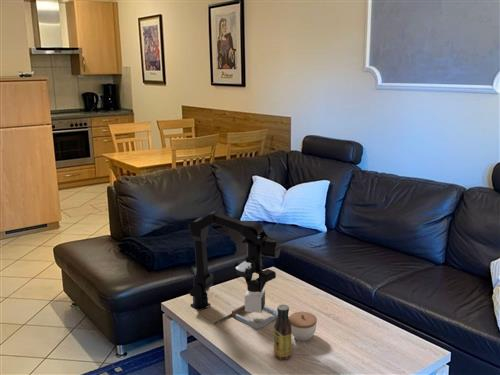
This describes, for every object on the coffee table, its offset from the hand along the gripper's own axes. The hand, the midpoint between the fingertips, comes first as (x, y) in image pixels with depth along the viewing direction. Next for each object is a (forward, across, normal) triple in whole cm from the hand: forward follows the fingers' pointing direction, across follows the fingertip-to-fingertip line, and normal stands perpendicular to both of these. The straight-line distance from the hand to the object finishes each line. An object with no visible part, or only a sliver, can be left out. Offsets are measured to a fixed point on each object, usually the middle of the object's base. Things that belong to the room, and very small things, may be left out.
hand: (254, 289), depth 200 cm
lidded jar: (+13, +23, +3) cm, 27 cm away
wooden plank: (+13, -8, +1) cm, 15 cm away
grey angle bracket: (+13, 0, +1) cm, 13 cm away
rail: (+13, -9, -3) cm, 16 cm away
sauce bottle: (+13, +26, -12) cm, 32 cm away
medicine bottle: (+9, 0, 0) cm, 9 cm away
